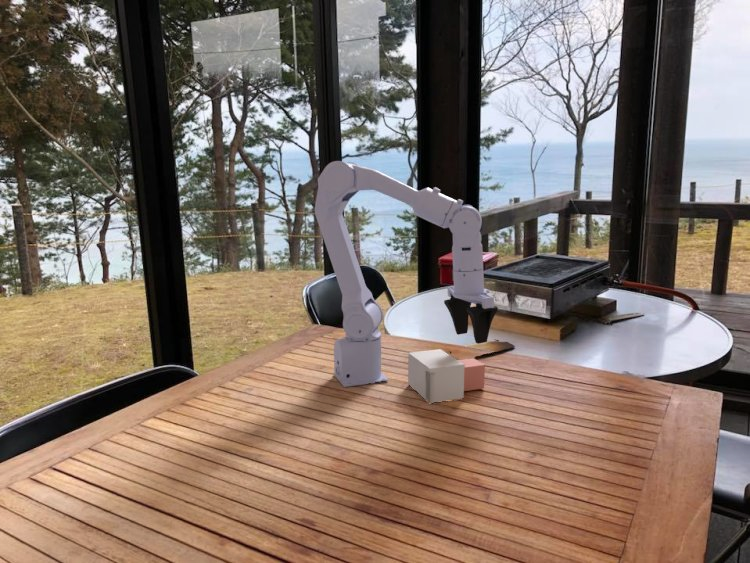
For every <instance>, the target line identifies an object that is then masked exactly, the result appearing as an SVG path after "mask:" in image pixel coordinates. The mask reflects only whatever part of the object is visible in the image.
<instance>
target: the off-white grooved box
mask: <svg viewBox="0 0 750 563" xmlns="http://www.w3.org/2000/svg"><path fill="white" fill-rule="evenodd" d="M446 352H447V351H445V350H443V349H441V348H438V349H429V350H421V351H420V350H419V351H412V352H411V351H410V352H408V353H407V354H408V360H407V362H408V364H407V366H408V367H407V369H408V372H407V375H408V376H407V380H408V381H407V385H408V384H409V385H411V386H412V387H413V388H414V389H415V390H416V391H417V392H418V393H419V394H420V395H421V396H422V397H423V398H424V399H425V400H427V401H428V402H429V403H433V402H439V401H446V400H452V399H460V398H464V397H465V391H464V365H465V364H463V363H462V362H460V361H458V360H457V359H455V358H454V357H452V356H451V355H449V354H447V353H448V352H447V353H446ZM419 394H418V395H419ZM420 395H419V396H420ZM421 396H420V397H421ZM422 397H421V398H422ZM423 398H422V399H423ZM424 399H423V400H424ZM425 400H424V401H425ZM428 402H427V403H428ZM429 403H428V404H429Z"/></svg>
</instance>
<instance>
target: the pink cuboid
mask: <svg viewBox="0 0 750 563" xmlns="http://www.w3.org/2000/svg"><path fill="white" fill-rule="evenodd" d="M458 361H460V362H462V363H463V364H465V365H464V392H468V391H474V390H475V391H476V390H482V389H485V374H486V373H485V372H486V371H485V370H486V364H485V363H483V362H481V361H480V360H477V359H476V358H469V359H461V360H458Z"/></svg>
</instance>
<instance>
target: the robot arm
mask: <svg viewBox="0 0 750 563" xmlns="http://www.w3.org/2000/svg"><path fill="white" fill-rule="evenodd" d="M317 185H318V188H317V193H316V199H315V204H314V214H315V218H316V220H317V224H318V227H319V229H320V233H321V235H322V238H323V241H324V244H325V248H326V251H327V254H328V257H329V260H330V262H331V266H332V268H333V271H334V275H335V277H336V280H337V283H338V286H339V290H340V292H341V295H342V296H341V297H342V298H341V311H342V314H343V320H342V328H343V331H344V332H345V336H344V337H342V338H338V339H335V340H334V345H333V363H334V369H333V370H334V371H333V375H334V377H335V378H336V379H337V380H338V382H339V383H340V384H341V386H343V387H344V388H346V387H354V386H355V387H356V386H362V385H369V384H368V383H371V384H376V383H375V382H379V383H382V382H381V381H386V382H388V381H389V378H388V377H387V376H386V375H385V374H384V373H382V333H381V331H380V329H379V325H380V324H381V323H382V321H383V317H384V313H383V310H382V306H380V305H379V304H378V302H376V300H375V298H374V297H373V292H372V291H371V290H370V289H369V288H368V287H367V285H366V283H365V282H366V281H365V279H364V276H363V273H362V269H361V267H360V263H359V260H358V257H357V254H356V251H355V248H354V244H353V243H352V239H351V235H350V234H349V233H350V232H349V230H348V227H347V223H346V221H345V218H344V215H343V212H344V211H345V209H346V208H347V205H348V204H349V202H350V200H351V199H352V198H353V197H354V196H355V195H356V194H358V192H360V191H375V192H378V193H379V194H380V193H381V194H382V195H385V196H387V197H390V198H392V199H395V200H397V201H399V202H402V203H405V204H407V205H409V206H411V208H412V210H413V214H414V215H415V216H417V217H419V218H421V219H423V220H425V221H427V222H429V223H431V224H434V225H436V226H438V227H441V228H443V229H448V228H449V230H450V232H451V234H452V247H451V254H452V270H453V271H452V274H453V275H452V276H453V286H447V296H448V298H449V297H450V298H449V299H445V300H444V301H443V302H444V305H445V307H446V308H447V310H448V312H449V314H450V316H451V319H452V322H453V323H452V324H453V327H454V330H455V332H456V335H458V336H459V335H464V334H468V331H469V330H468V329H469V319H470V321H471V326H472V332H473V337H474V341H475V342H474V343H477V344H479V343H484V342H487V341H488V339H489V334H490V328H491V325H492V323H493V320H494V317H495V316H496V314H497V312H498V306H496V305H495V299H494V296H493V295H490V289H487V288H485V280H484V275H485V274H484V252H483V244H482V241H483V240H482V234H481V231H480V230H481V228H482V224H483V223H482V220H483V219H482V218H483V217H482V215H481V212H480V211H479V210H478V209H477V208H475V207H473V205H471V204H464V200H462V199H460V198H459V199H457V200H456V199H454V198H452V197H449V196H447V195H445V194H443V193H441V189H439V188H438V187H436V186H435V187H432V188H433V189H432V188H430V187H425V188H422V189H421V190H420V189H419V190H418V189H416V188H413V187H411V186H410V185H408V184H405V183H403V182H401V181H399V180H398V179H395V178H393V177H392V176H389V175H387V174H385V173H383V172H381V171H379V170H377V169H374V168H371V167H367V166H363V165H359V164H357V163H356V162H349V161H348V162H344V161H341V160H335V161H331V162H329V163H328V164H327V165H326V166H325V167H324V169H323V170H322V172H321V173H320V175H319V176H318V178H317ZM472 304H474V305H475V306H472ZM387 380H388V381H387Z"/></svg>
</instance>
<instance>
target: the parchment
mask: <svg viewBox="0 0 750 563" xmlns="http://www.w3.org/2000/svg"><path fill="white" fill-rule="evenodd" d="M463 346H465V347H471V348H476V349H484V350H490V351H494V352H496V353H497V352H502V351H504V350H509V349H512V348H515V347H516V346H515V345H514V344H513V343H510V341H509V342H508V341H500V340H498V339H494V340H493V341H491V340H487V342H484V343H479V344H477V343H476V342H474V343H469V344H465V345H463Z"/></svg>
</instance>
